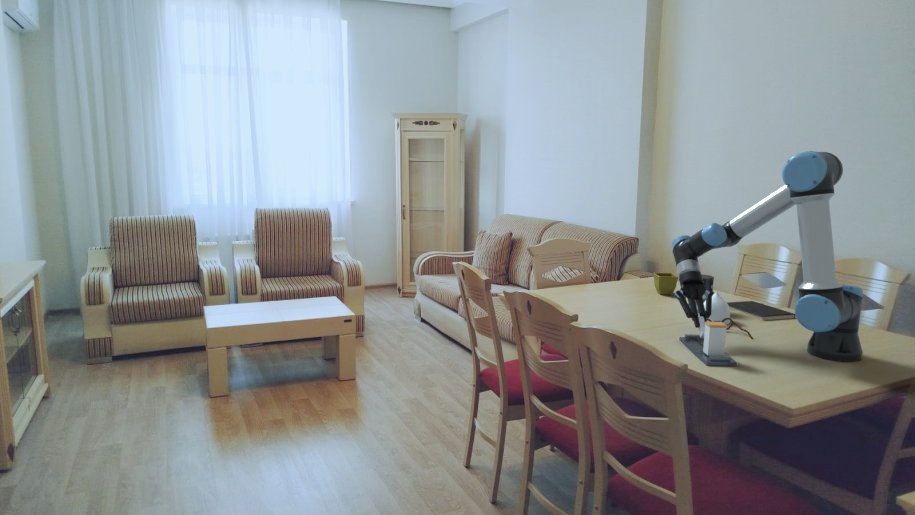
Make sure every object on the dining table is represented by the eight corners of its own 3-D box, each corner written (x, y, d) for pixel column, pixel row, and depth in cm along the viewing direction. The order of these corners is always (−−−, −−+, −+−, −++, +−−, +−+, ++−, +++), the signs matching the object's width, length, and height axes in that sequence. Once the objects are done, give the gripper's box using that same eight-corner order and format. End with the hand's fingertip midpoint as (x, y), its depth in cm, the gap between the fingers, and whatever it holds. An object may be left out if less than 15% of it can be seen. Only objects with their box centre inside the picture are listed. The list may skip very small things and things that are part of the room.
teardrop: (697, 316, 246) (699, 286, 244) (726, 317, 244) (729, 288, 242) (702, 323, 235) (704, 292, 233) (733, 325, 233) (735, 294, 231)
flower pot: (677, 295, 282) (678, 276, 280) (657, 295, 282) (659, 276, 280) (670, 291, 290) (672, 272, 289) (652, 291, 290) (653, 272, 289)
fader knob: (702, 351, 195) (705, 321, 194) (719, 351, 195) (721, 321, 194) (707, 355, 191) (709, 325, 190) (724, 355, 191) (726, 325, 190)
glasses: (730, 330, 227) (732, 316, 227) (753, 340, 215) (754, 326, 214) (698, 331, 225) (699, 318, 224) (719, 342, 213) (720, 327, 212)
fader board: (679, 340, 212) (679, 333, 212) (705, 340, 212) (706, 334, 212) (706, 365, 187) (707, 357, 186) (736, 366, 186) (737, 358, 186)
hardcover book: (761, 321, 240) (762, 316, 240) (721, 308, 262) (722, 302, 261) (795, 319, 244) (795, 313, 244) (753, 305, 266) (753, 300, 266)
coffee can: (708, 307, 260) (711, 274, 258) (713, 313, 250) (716, 279, 248) (683, 306, 262) (685, 273, 260) (687, 311, 252) (689, 278, 250)
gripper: (705, 281, 218) (720, 341, 204) (668, 281, 218) (680, 340, 205) (712, 269, 212) (728, 330, 198) (673, 269, 212) (687, 329, 199)
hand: (703, 335), depth 202 cm, fingers closed
